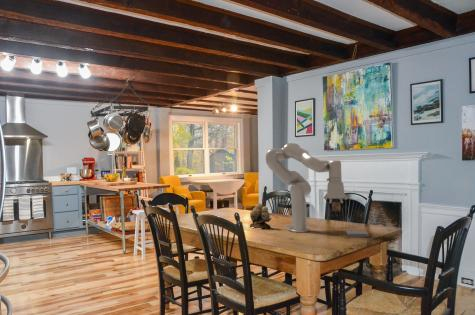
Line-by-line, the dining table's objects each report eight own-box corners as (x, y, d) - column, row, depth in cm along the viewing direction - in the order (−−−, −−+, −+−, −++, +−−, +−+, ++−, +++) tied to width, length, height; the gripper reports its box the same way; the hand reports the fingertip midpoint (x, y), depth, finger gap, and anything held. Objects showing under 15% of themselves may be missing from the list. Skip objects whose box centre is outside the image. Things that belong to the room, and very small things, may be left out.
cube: (332, 210, 230) (332, 202, 230) (331, 209, 235) (331, 202, 235) (340, 210, 229) (340, 202, 229) (339, 209, 234) (339, 201, 234)
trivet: (348, 236, 224) (348, 233, 224) (345, 232, 235) (345, 230, 235) (369, 237, 221) (368, 234, 222) (365, 233, 233) (365, 230, 233)
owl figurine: (275, 227, 259) (275, 203, 259) (265, 230, 250) (265, 205, 250) (255, 225, 271) (255, 201, 271) (245, 227, 262) (244, 203, 262)
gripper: (321, 180, 230) (322, 210, 230) (350, 180, 227) (351, 210, 226) (321, 180, 237) (321, 208, 237) (348, 179, 234) (349, 208, 234)
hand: (336, 209), depth 232 cm, fingers closed on cube, 5 cm apart
